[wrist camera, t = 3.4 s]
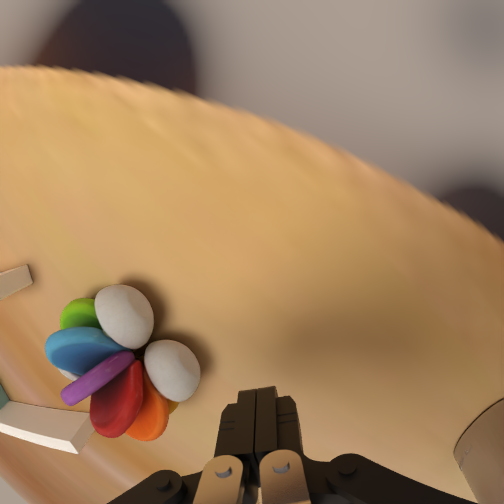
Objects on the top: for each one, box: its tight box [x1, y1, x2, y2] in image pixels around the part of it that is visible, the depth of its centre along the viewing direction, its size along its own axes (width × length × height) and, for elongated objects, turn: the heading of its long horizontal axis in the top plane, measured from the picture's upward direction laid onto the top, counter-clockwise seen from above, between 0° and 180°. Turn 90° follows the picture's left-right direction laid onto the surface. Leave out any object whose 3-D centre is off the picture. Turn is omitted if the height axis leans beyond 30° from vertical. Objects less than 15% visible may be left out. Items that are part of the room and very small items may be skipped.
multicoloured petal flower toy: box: [45, 284, 200, 441], centre depth 16 cm, size 8×10×7 cm
